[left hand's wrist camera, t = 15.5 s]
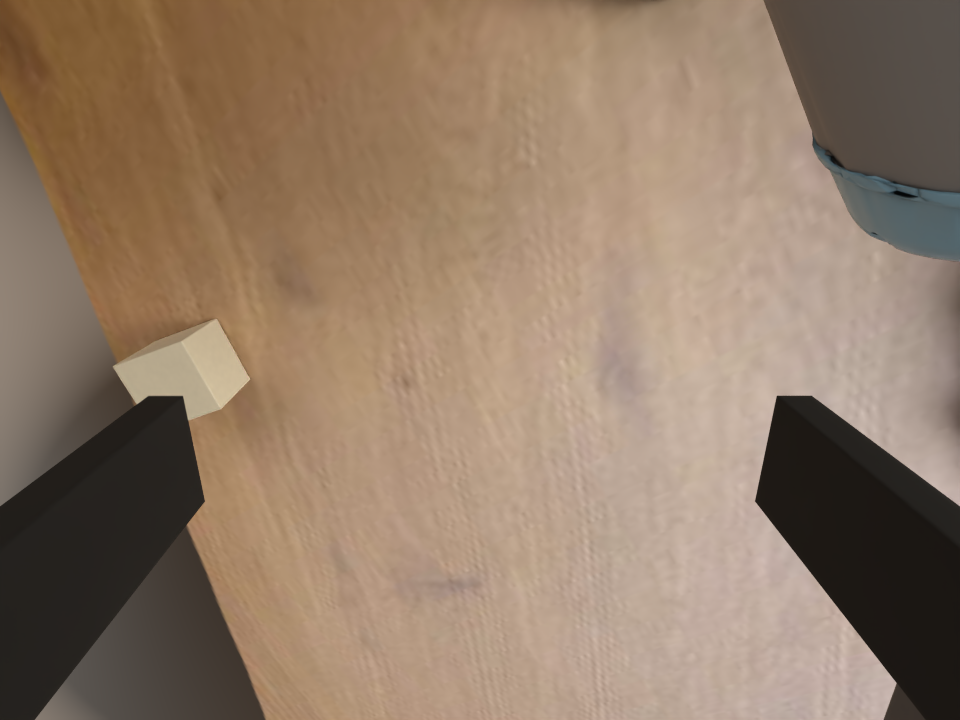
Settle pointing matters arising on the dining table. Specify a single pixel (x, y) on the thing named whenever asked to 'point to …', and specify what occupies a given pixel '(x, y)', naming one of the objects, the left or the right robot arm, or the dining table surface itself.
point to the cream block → (186, 369)
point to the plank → (902, 707)
